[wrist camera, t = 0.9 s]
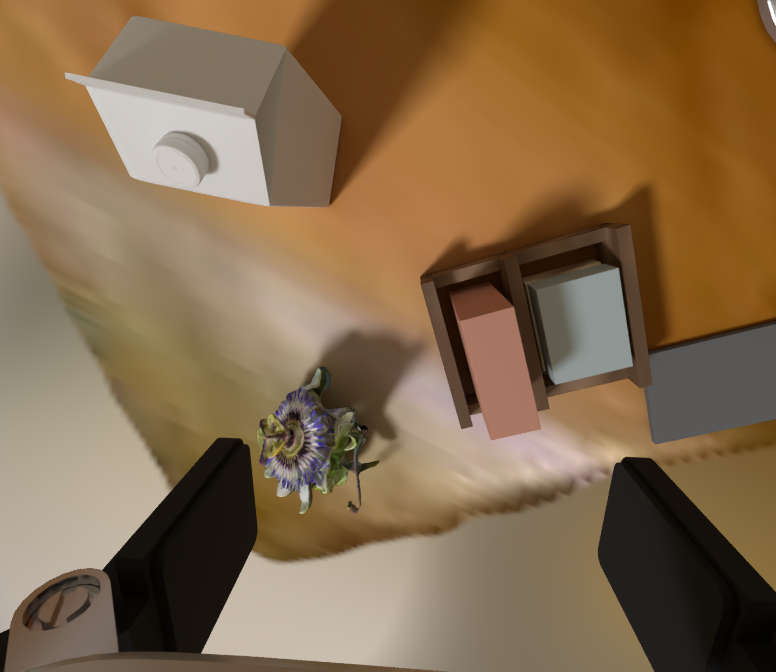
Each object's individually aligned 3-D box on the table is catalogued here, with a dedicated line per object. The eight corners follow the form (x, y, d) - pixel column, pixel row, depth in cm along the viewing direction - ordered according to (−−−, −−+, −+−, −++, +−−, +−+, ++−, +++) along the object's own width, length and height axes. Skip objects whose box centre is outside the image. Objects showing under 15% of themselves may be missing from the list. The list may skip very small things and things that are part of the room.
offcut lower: (588, 258, 35) (600, 262, 33) (602, 344, 38) (615, 354, 35) (517, 277, 36) (524, 283, 34) (535, 361, 38) (543, 371, 36)
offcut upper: (603, 263, 33) (618, 267, 31) (618, 355, 35) (632, 366, 33) (527, 284, 34) (536, 290, 32) (546, 372, 36) (555, 384, 34)
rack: (606, 222, 34) (630, 224, 30) (628, 366, 38) (652, 384, 34) (420, 276, 36) (420, 284, 33) (457, 407, 40) (461, 428, 36)
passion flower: (312, 378, 46) (292, 345, 35) (401, 424, 45) (410, 406, 33) (255, 474, 42) (212, 472, 31) (349, 528, 41) (340, 546, 30)
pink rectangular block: (488, 281, 36) (513, 306, 27) (510, 374, 39) (541, 429, 29) (448, 292, 37) (459, 321, 27) (472, 383, 39) (491, 440, 29)
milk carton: (255, 98, 33) (60, -36, 15) (343, 116, 33) (253, 3, 15) (247, 191, 35) (67, 172, 17) (329, 208, 35) (236, 207, 17)
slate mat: (787, 317, 35) (793, 319, 35) (791, 411, 38) (797, 414, 37) (639, 353, 37) (642, 356, 37) (652, 440, 39) (655, 444, 39)
